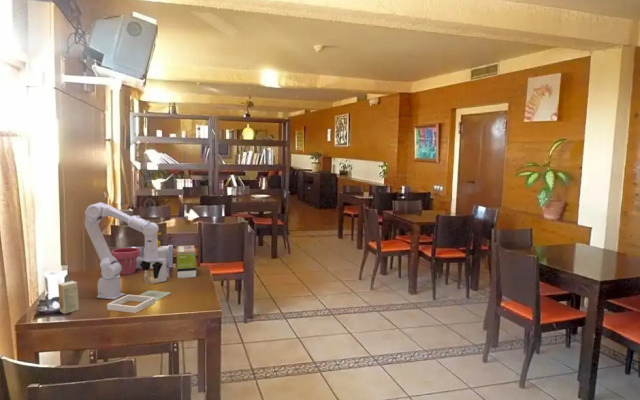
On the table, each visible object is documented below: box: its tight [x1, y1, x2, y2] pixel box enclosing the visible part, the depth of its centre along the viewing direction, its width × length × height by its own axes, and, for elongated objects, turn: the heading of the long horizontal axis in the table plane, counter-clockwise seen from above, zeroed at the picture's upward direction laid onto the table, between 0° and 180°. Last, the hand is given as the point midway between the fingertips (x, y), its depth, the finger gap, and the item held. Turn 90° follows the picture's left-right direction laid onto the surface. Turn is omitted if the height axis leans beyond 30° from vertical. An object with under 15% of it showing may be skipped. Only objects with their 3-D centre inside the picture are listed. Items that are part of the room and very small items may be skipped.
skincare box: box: [57, 280, 80, 315], centre depth 198 cm, size 6×4×12 cm
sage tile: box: [138, 290, 172, 302], centre depth 220 cm, size 12×12×1 cm
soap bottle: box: [143, 232, 168, 284], centre depth 243 cm, size 9×9×25 cm
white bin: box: [106, 294, 156, 314], centre depth 205 cm, size 14×14×2 cm
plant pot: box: [111, 247, 141, 276], centre depth 260 cm, size 14×14×13 cm
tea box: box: [176, 244, 197, 279], centre depth 258 cm, size 15×10×15 cm
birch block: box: [144, 268, 158, 285], centre depth 218 cm, size 4×4×6 cm
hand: (151, 277), depth 219 cm, fingers closed on birch block, 4 cm apart
